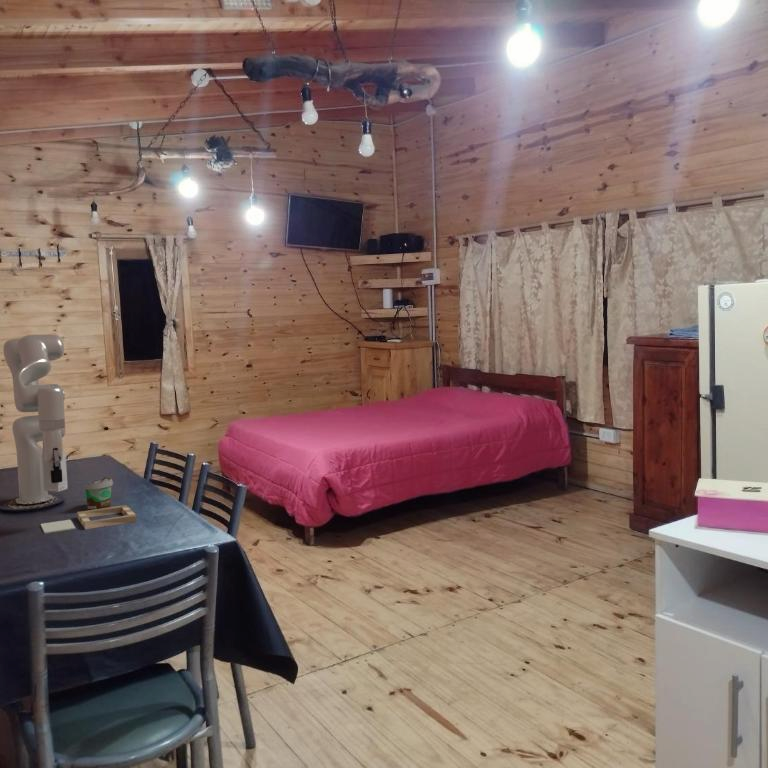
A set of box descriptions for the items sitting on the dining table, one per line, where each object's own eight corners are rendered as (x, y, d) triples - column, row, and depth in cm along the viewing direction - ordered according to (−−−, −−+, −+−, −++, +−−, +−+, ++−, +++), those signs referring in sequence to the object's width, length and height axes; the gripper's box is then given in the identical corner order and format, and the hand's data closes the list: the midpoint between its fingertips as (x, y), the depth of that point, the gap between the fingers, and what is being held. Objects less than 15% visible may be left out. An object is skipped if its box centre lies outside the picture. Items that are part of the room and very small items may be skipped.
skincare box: (68, 489, 233) (66, 452, 231) (58, 492, 229) (56, 454, 227) (53, 487, 235) (51, 451, 233) (43, 490, 231) (41, 453, 229)
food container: (101, 512, 249) (99, 484, 248) (85, 512, 251) (83, 483, 250) (121, 503, 261) (119, 476, 260) (105, 502, 263) (104, 475, 262)
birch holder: (77, 517, 243) (77, 512, 243) (126, 510, 251) (126, 505, 251) (85, 529, 230) (84, 523, 229) (137, 521, 238) (136, 515, 238)
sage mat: (40, 525, 235) (40, 523, 235) (70, 520, 240) (70, 519, 240) (44, 533, 226) (44, 532, 226) (75, 528, 230) (75, 527, 230)
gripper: (36, 423, 235) (39, 476, 237) (42, 429, 220) (45, 486, 222) (61, 421, 239) (64, 473, 241) (68, 427, 224) (71, 483, 226)
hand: (55, 479), depth 231 cm, fingers closed on skincare box, 7 cm apart
